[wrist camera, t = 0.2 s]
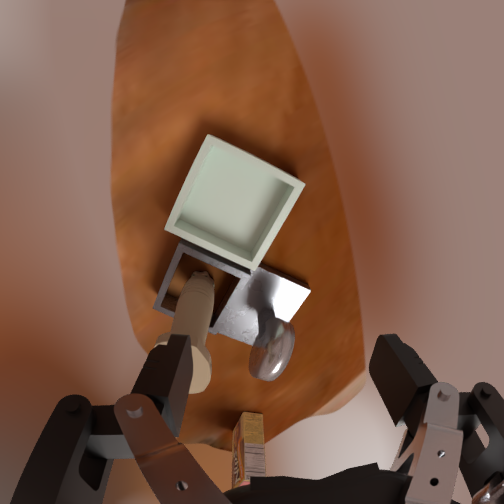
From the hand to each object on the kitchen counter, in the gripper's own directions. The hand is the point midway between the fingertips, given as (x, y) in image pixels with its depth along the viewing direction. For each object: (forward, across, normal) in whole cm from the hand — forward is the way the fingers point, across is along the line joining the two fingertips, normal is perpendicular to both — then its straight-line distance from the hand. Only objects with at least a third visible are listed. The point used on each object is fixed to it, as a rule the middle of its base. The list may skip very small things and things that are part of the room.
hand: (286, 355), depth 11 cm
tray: (+22, +3, -4) cm, 22 cm away
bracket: (+23, +4, +8) cm, 25 cm away
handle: (+23, +7, +6) cm, 25 cm away
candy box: (+26, +1, +39) cm, 47 cm away
